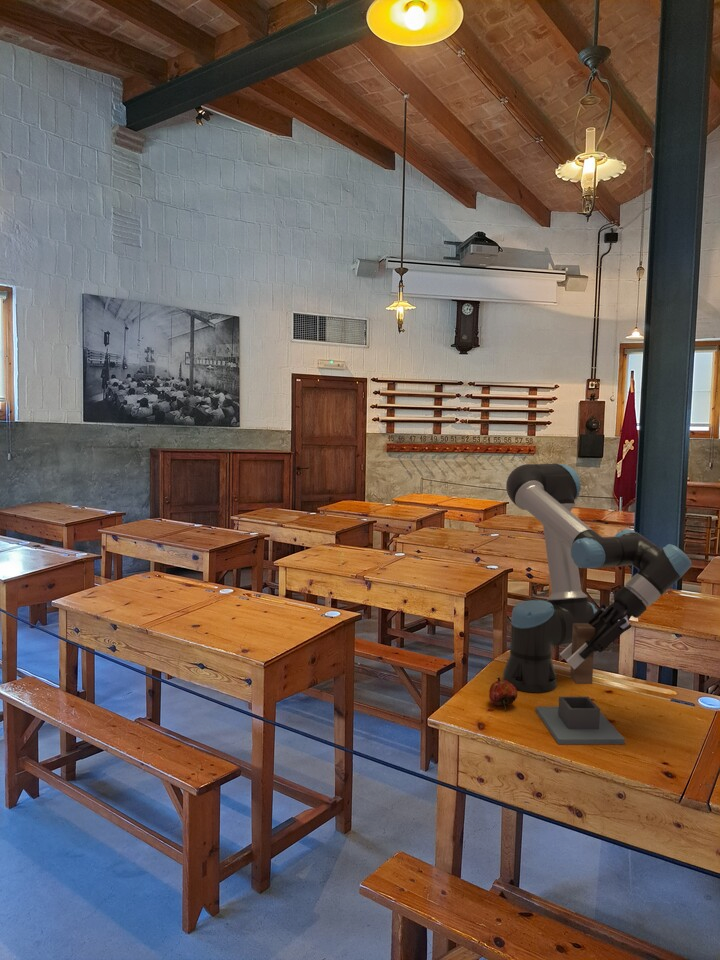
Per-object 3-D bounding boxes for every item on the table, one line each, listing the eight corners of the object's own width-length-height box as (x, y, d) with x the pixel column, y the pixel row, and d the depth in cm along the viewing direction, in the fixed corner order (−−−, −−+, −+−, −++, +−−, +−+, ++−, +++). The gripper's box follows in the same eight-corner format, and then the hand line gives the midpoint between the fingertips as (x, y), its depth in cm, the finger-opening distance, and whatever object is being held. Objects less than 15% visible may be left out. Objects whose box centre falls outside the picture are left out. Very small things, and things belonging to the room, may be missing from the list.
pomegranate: (519, 718, 176) (515, 684, 184) (519, 704, 172) (515, 670, 179) (491, 719, 178) (487, 685, 185) (490, 705, 173) (486, 671, 180)
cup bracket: (535, 711, 176) (536, 688, 175) (595, 711, 177) (596, 688, 176) (558, 744, 158) (559, 719, 157) (624, 744, 159) (626, 719, 158)
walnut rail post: (570, 677, 168) (572, 623, 167) (586, 677, 168) (588, 623, 167) (576, 683, 164) (578, 628, 163) (592, 684, 164) (594, 628, 163)
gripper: (662, 617, 156) (590, 685, 157) (630, 598, 173) (565, 659, 174) (641, 595, 156) (568, 663, 156) (611, 577, 173) (545, 640, 173)
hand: (566, 661), depth 165 cm, fingers closed on walnut rail post, 4 cm apart
